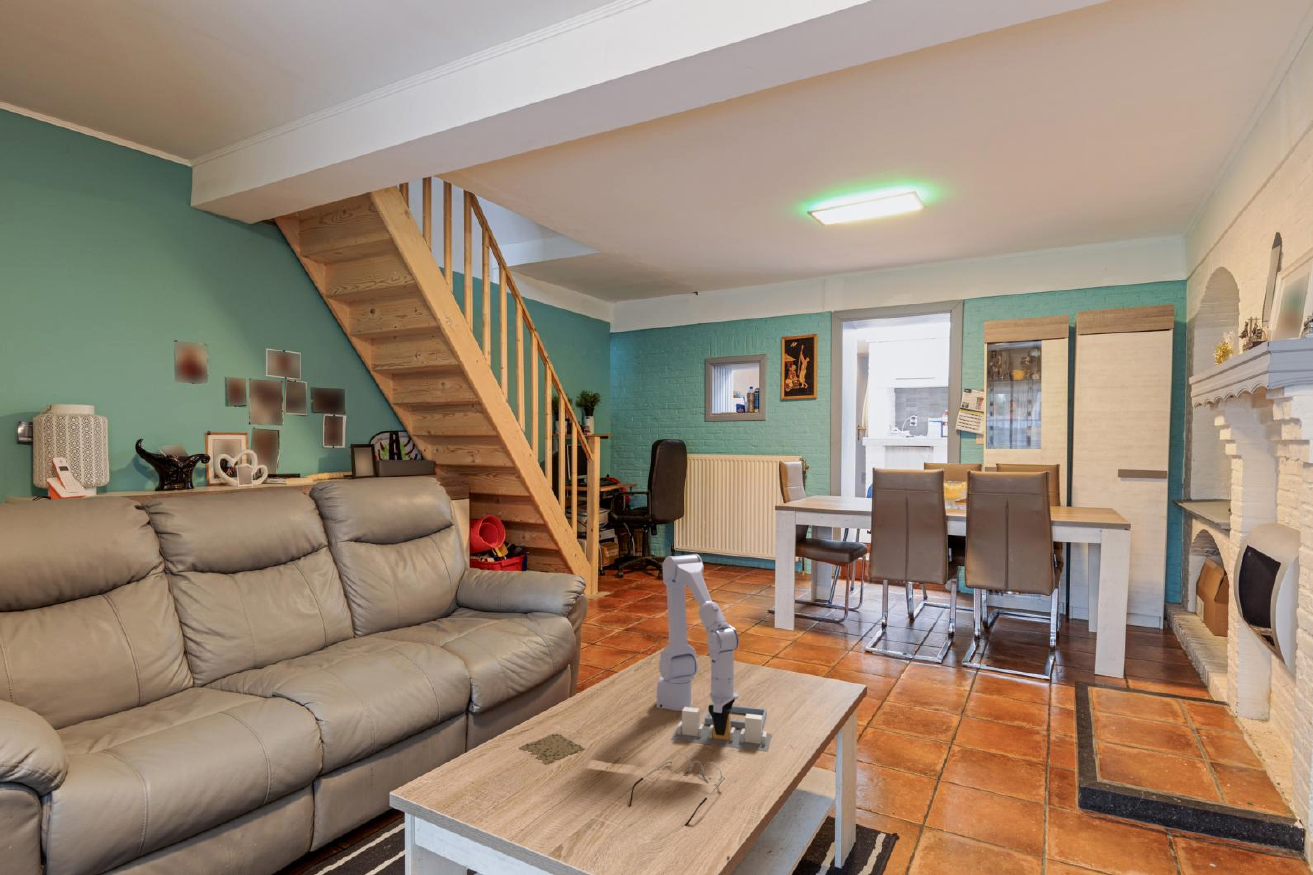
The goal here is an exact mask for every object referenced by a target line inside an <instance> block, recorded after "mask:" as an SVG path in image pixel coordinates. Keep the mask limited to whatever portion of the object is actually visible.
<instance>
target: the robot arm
mask: <svg viewBox="0 0 1313 875" xmlns="http://www.w3.org/2000/svg"><path fill="white" fill-rule="evenodd" d="M704 568H705V567H704V563H703V559H702V557H701V556H700V555H699V554H698V553H693V554H685V555H684V554H683V555H674V556H671V555H668V556H666V557H665V559H664V561H663V562H662V579H663V584H664V585H666V598H667V599H666V600H667V602H666V603H667V621H668V644H667V645H666V646H665V647H664V648H663V649H662V650H661V651H660V657H659V658H660V659H659V665H658V669H659V673H660V677H659V678H658V680H657V686H656V708H657V709H658V708H659V709H660V708H661V709H665V710H666V709H667V710H671V711H680V712H682V710H683V708H684V707H691V708H692V680H694V679H695V678H694V677H695V675H696V674H697V673H698V670H699V662H698V659H697V654H696V653H697V652H696V649H695V648H694V647H692V645H690V644H688V628H687V627H688V626H687V606H686V603H687V602H686V587H688V589H689V590H690V593H691V594H692V596H693V597H694V599H695V602H696V603H697V604H698V606H699V610H698V613H697V614H698V616H699V618H700V620H701V622H702V625H703V627H704V629H705V631H706V635H707V637H706V645H707V648H708V656H709V658H710V659H711V660H710V664H711V666H710V667H711V668H710V693H709V697H710V699H711V701H712V703H713V705H711V704H709V705H708V708H707V709H708V710H709V713H710V714H711V716H710V718H712V719H713V723H714V728H715V733H716V735H723V736H724V734H725V731H726V724H727V719H728V716H729V714H730V712H731V708H732V706H734V703H735V701H736V700H738V699H739V693H735V692H734V690H735V689H734V686H735V651H736V650H737V649H738V648H739V646H740V639H739V638H740V637H739V634H738V632H737V629H736V628H735V627H734V626H732V625H731V624H730V623H729V622H727V621H726V618H725V616H724V614H723V612H722V610H721V608H720V605H719V604H718V603H717V602H714V601H713V600H712V597H711V594H710V592H709V590H708V587H707V584H706V582H705V579H704V576H703V575H704ZM708 710H707V711H708ZM731 713H732V712H731Z"/></svg>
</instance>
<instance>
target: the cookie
mask: <svg viewBox="0 0 1313 875" xmlns="http://www.w3.org/2000/svg"><path fill="white" fill-rule="evenodd" d="M518 748H519V749H518V750H520V749H521V750H523V751H528V752H532V753H530V754H531V755H537V757H536V759H538V760H542V761H543V763H544V764H543V763H542V764H543V765H545V766H547V765H550V764H549V763H551V764H552V763H554V761H555V760H558V761H560V760H562V759H565V758H566V756H567V757H569V756H568V755H570V756H572V755H574V754H577V753H579V752H578V751H580V752H582V751H584V750H585V748H584V747H583V746H582V745H580V744H578V743H576V742H574V741H572V740H570V739H568V738H567V737H565V736H563V735H562V734H560V733H551V734H549V735H547V736H545V737H542V738H539V739H537V740H534V741H532V742H529V743H525V744H523V745H522V746H520V747H518ZM521 750H520V751H521ZM523 751H522V752H523ZM538 755H539V756H538ZM536 759H535V760H536ZM538 760H537V761H538ZM555 762H556V761H555Z"/></svg>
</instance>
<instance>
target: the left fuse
mask: <svg viewBox="0 0 1313 875" xmlns="http://www.w3.org/2000/svg"><path fill="white" fill-rule="evenodd" d="M700 712H701V711H700V708H698V707H692V706H691V707H684V708H683V710H681V721H682V734H684V735H692V736H698V730H699V727H700V725H701V723H700V721H701V720H700V718H701V717H700V716H701V713H700Z"/></svg>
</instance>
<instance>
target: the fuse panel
mask: <svg viewBox="0 0 1313 875" xmlns="http://www.w3.org/2000/svg"><path fill="white" fill-rule="evenodd" d="M772 735H773V734H772V733H769V732H768V731H766V730H763V731H762V743H761V744H759V743H750V742H745V729H744V728H741V730H740V729H736V728H735V727H731V731H730V738H729V740H726V739H717V738H713V725H710V726H709V725H708V726H706V725H705V723H700V727H699V730H698V736H692V735H684V734H682V720H680V721H679V723H678V725H677V727H676V729H675V731H674V733H673V735H672V737H671V739H670V740H671V741H676V742H677V741H678V742H685V743H686V742H687V743H693V744H702V745H709V746H718V747H727V748H733V749H734V748H735V749H743V750H751V751H759V752H767V753H768V752H769V749H770V744H771V739H772Z"/></svg>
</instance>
